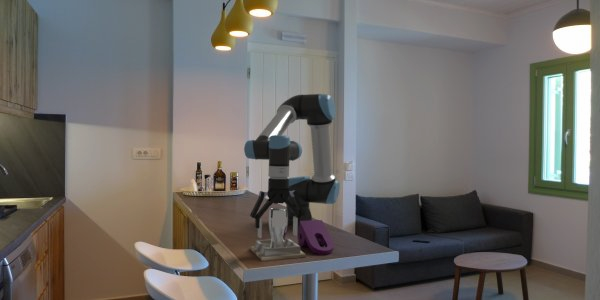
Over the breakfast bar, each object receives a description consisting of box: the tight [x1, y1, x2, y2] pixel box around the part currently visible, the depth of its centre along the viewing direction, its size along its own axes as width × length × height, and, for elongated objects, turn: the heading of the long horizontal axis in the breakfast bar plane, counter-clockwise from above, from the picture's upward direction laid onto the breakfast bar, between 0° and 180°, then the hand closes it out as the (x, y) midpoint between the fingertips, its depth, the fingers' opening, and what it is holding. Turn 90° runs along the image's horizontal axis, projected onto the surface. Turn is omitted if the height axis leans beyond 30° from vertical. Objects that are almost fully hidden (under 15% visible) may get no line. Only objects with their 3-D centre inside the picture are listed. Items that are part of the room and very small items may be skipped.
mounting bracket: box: [297, 219, 335, 256], centre depth 156 cm, size 10×8×18 cm
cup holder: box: [250, 237, 307, 262], centre depth 148 cm, size 16×16×4 cm
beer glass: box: [268, 207, 289, 248], centre depth 148 cm, size 7×7×15 cm
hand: (277, 236), depth 148 cm, fingers open, 13 cm apart
